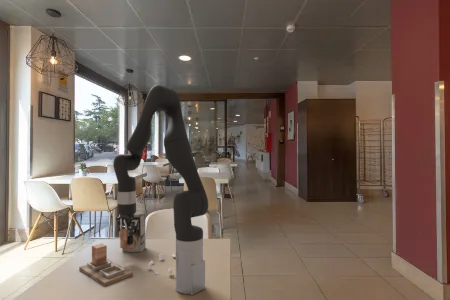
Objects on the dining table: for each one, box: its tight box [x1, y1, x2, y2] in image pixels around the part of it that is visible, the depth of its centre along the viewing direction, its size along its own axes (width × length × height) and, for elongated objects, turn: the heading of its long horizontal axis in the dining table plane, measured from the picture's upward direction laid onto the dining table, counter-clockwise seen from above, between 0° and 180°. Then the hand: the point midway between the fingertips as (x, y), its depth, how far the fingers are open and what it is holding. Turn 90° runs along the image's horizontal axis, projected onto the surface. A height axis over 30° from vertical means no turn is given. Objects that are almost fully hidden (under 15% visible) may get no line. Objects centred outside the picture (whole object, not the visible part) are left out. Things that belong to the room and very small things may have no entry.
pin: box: [119, 227, 134, 250], centre depth 120 cm, size 4×4×8 cm
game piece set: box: [147, 251, 176, 277], centre depth 117 cm, size 19×20×4 cm
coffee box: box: [121, 213, 147, 253], centre depth 135 cm, size 9×6×16 cm
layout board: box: [78, 243, 134, 287], centre depth 110 cm, size 20×11×9 cm, turn 49°
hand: (127, 243), depth 120 cm, fingers closed on pin, 4 cm apart
